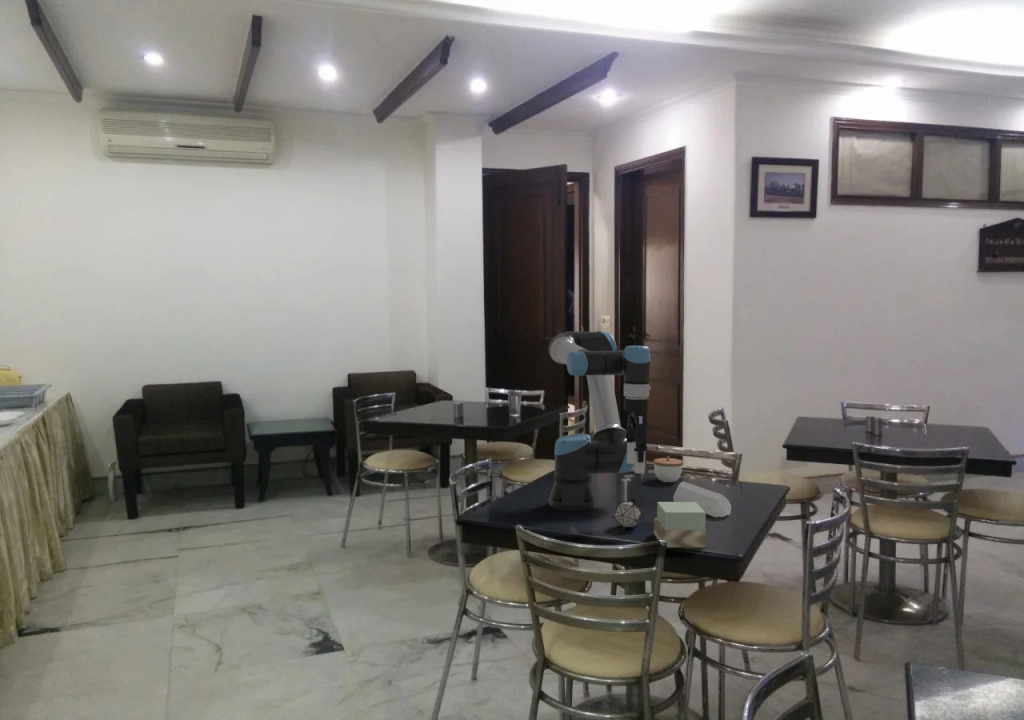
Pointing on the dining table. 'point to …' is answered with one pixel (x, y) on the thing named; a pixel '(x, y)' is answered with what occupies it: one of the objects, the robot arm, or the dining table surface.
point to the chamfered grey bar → (703, 499)
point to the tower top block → (681, 516)
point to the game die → (627, 514)
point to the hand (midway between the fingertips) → (635, 468)
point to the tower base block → (680, 536)
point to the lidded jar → (667, 469)
